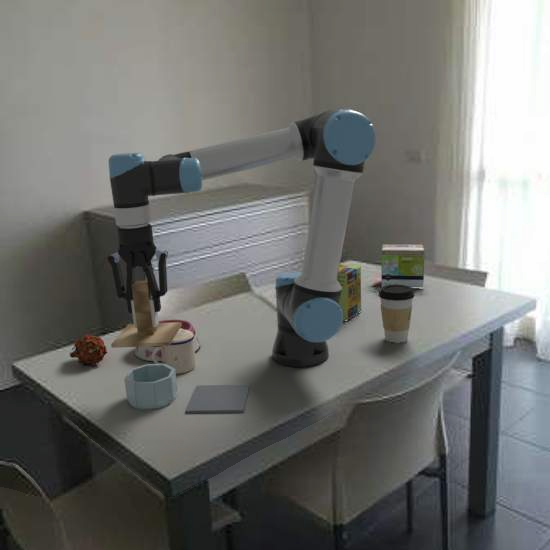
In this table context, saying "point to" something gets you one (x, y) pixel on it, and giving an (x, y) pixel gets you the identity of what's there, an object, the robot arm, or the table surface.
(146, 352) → the dog bowl
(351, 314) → the protein box
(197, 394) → the slate mat
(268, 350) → the table surface
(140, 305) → the oak lid
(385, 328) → the coffee cup
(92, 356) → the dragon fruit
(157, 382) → the ceramic bowl
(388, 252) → the tea box
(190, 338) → the teacup with lid
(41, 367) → the table surface
